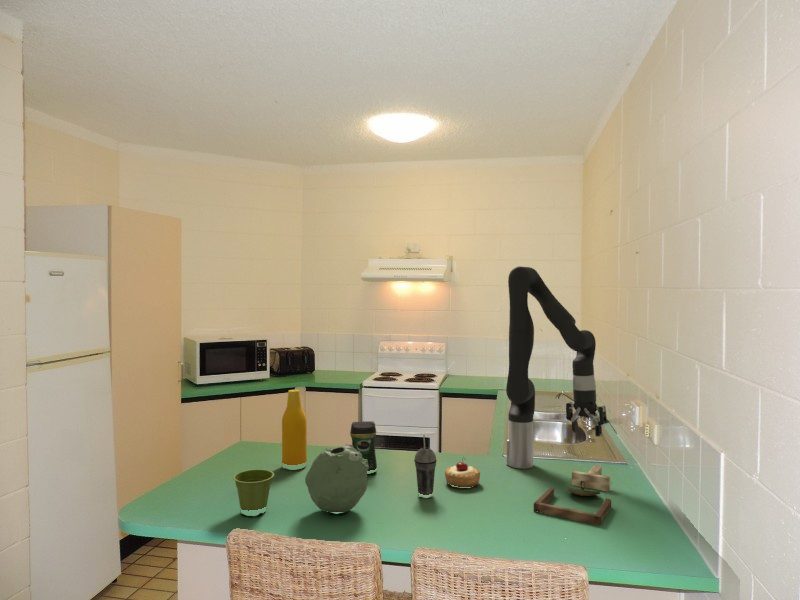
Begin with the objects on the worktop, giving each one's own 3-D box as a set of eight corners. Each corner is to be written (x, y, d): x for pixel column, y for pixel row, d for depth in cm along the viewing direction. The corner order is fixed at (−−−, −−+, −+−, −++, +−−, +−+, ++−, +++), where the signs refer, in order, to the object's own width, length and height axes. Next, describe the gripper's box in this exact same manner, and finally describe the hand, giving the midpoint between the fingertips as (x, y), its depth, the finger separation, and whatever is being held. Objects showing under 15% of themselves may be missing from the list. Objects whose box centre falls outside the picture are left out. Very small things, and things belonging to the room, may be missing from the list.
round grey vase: (306, 503, 169) (306, 439, 169) (367, 500, 171) (366, 437, 171) (304, 525, 153) (303, 454, 153) (370, 521, 156) (370, 451, 155)
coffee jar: (376, 468, 203) (376, 418, 203) (377, 475, 195) (377, 424, 195) (350, 469, 202) (350, 419, 202) (350, 476, 194) (349, 424, 194)
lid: (564, 500, 171) (564, 484, 171) (566, 489, 180) (566, 474, 180) (600, 505, 167) (600, 488, 167) (600, 493, 176) (600, 478, 176)
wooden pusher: (571, 485, 185) (571, 472, 185) (580, 475, 195) (580, 462, 195) (608, 491, 178) (608, 478, 178) (616, 481, 188) (616, 468, 188)
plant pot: (239, 524, 154) (239, 484, 154) (228, 510, 164) (228, 473, 164) (279, 515, 160) (279, 477, 160) (267, 502, 170) (266, 466, 170)
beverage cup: (440, 493, 177) (439, 432, 177) (431, 501, 170) (431, 438, 170) (419, 490, 180) (419, 430, 180) (410, 498, 173) (410, 435, 173)
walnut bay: (533, 511, 162) (533, 503, 162) (549, 495, 175) (549, 487, 175) (599, 525, 152) (599, 517, 152) (611, 507, 165) (611, 499, 165)
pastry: (441, 489, 182) (440, 463, 182) (450, 477, 194) (449, 452, 193) (476, 492, 178) (475, 465, 178) (483, 480, 189) (482, 454, 189)
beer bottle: (287, 462, 210) (286, 388, 210) (310, 463, 209) (309, 388, 208) (278, 470, 201) (277, 392, 201) (302, 471, 200) (302, 393, 199)
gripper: (560, 387, 192) (562, 433, 192) (597, 391, 181) (600, 439, 181) (571, 384, 197) (574, 429, 197) (608, 387, 186) (611, 435, 186)
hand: (586, 434), depth 189 cm, fingers open, 8 cm apart
